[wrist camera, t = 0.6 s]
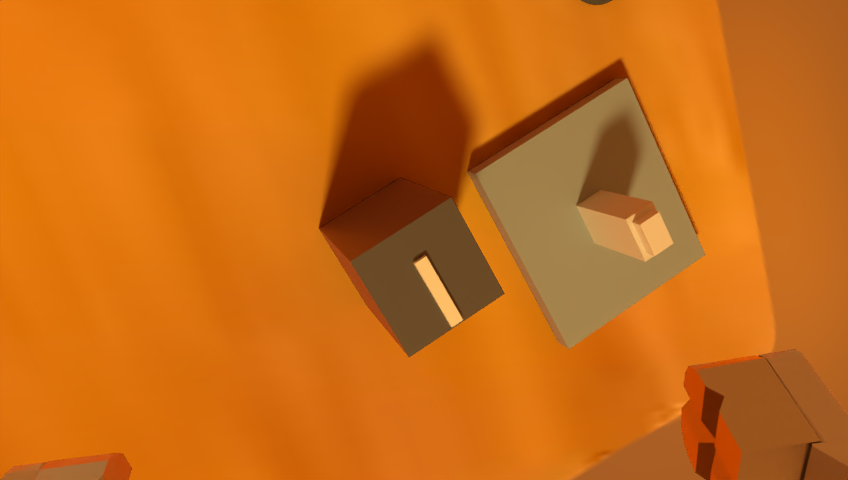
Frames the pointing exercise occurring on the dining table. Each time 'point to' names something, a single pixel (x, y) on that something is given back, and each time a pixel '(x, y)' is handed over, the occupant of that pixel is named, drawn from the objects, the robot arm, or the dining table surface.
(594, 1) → the sundae
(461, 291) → the slotted ballot box
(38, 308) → the dining table surface
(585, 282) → the post
